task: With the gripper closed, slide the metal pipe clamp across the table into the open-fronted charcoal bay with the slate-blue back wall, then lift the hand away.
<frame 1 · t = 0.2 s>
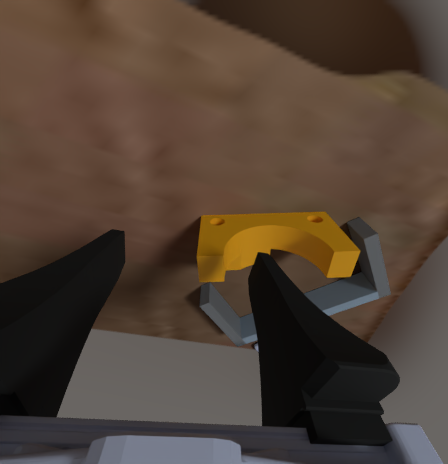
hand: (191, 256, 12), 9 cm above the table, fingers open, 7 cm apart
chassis: (286, 277, 26), on the table
pipe clamp: (261, 230, 23), on the table
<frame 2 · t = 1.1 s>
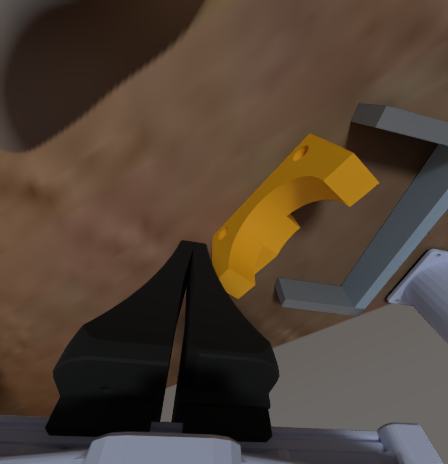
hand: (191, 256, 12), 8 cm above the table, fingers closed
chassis: (346, 222, 21), on the table
pipe clamp: (271, 203, 20), on the table
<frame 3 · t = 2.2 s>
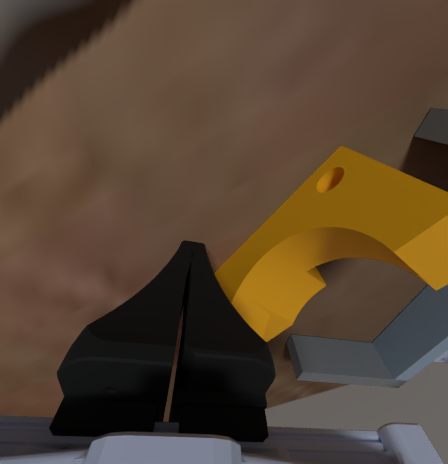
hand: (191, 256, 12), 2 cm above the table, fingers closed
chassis: (388, 271, 15), on the table
pipe clamp: (282, 245, 14), on the table, touching gripper
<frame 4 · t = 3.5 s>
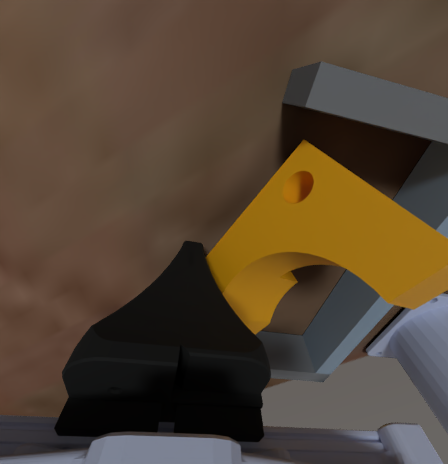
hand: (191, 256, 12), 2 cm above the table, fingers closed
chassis: (297, 257, 14), on the table
pipe clamp: (248, 245, 13), point 1 cm above the table, touching gripper
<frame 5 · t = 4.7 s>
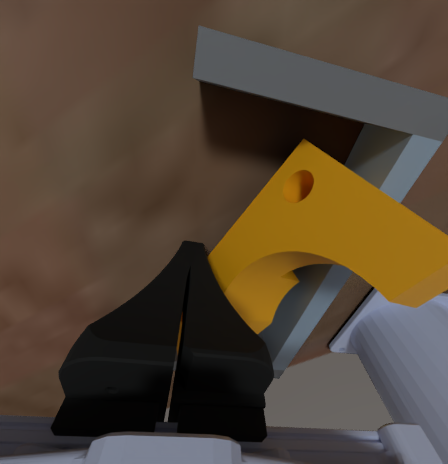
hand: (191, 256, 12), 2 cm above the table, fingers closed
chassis: (243, 248, 14), on the table
pipe clamp: (249, 245, 13), point 1 cm above the table, touching gripper
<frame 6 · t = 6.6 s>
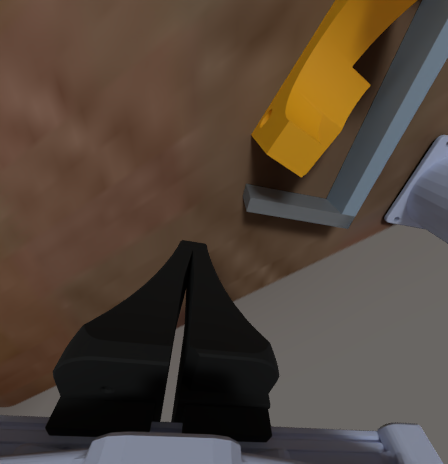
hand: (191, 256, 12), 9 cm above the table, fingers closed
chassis: (327, 89, 16), on the table
pipe clamp: (323, 73, 16), on the table
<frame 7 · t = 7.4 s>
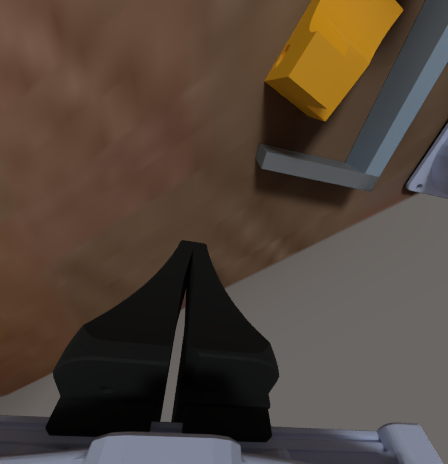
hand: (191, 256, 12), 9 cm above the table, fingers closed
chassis: (354, 29, 14), on the table
pipe clamp: (347, 6, 14), on the table
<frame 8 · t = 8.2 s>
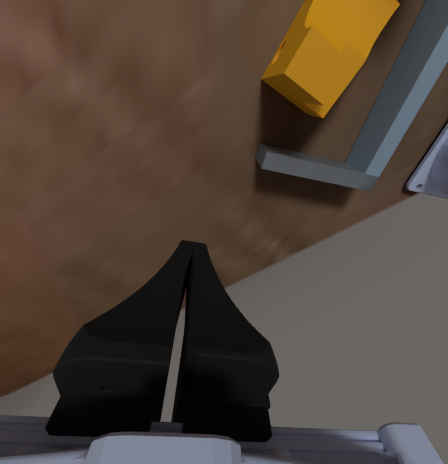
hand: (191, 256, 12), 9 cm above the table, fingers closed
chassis: (354, 29, 14), on the table
pipe clamp: (343, 1, 14), on the table
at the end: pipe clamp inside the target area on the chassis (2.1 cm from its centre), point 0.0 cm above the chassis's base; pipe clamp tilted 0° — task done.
